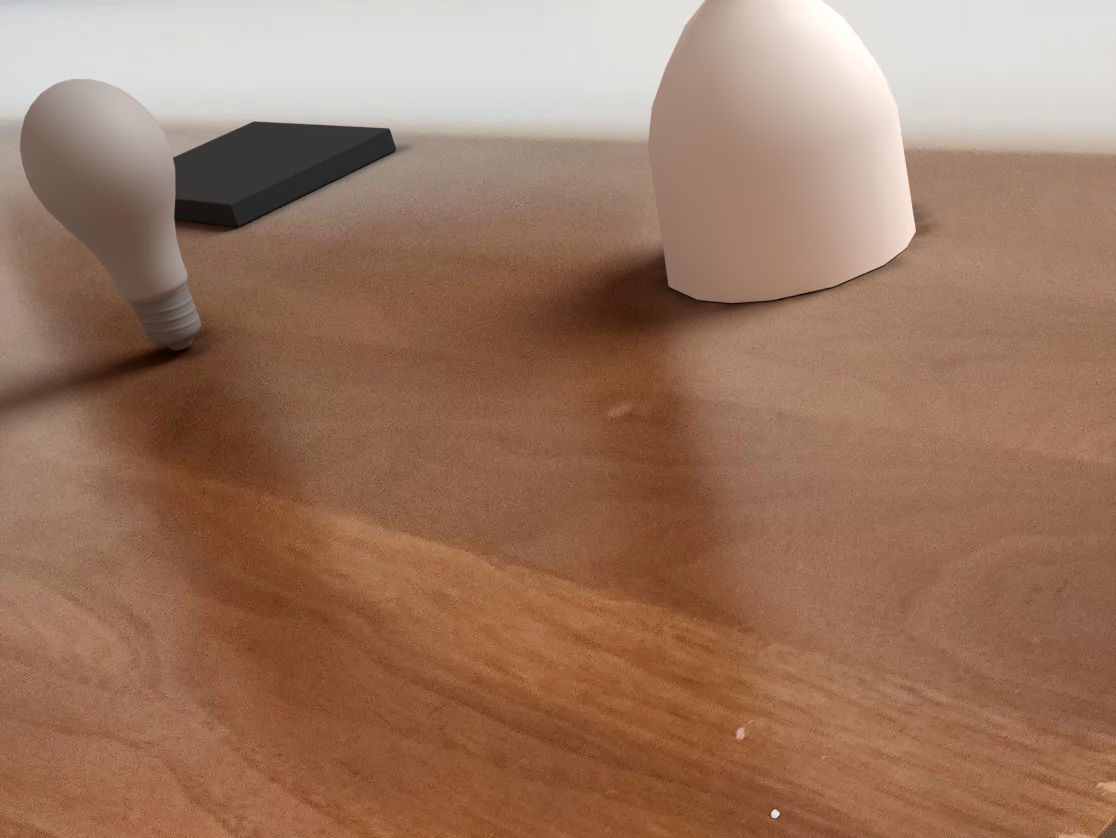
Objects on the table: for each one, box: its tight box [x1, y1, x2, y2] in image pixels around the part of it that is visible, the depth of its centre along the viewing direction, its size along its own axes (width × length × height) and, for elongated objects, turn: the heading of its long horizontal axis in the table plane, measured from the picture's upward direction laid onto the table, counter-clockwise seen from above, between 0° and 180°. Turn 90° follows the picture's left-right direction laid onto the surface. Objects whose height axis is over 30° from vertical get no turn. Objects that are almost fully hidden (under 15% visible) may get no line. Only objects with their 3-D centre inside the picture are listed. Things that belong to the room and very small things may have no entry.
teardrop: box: [647, 0, 917, 304], centre depth 58 cm, size 11×11×12 cm
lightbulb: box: [19, 78, 202, 351], centre depth 64 cm, size 6×6×11 cm
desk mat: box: [173, 120, 397, 228], centre depth 86 cm, size 14×12×1 cm
